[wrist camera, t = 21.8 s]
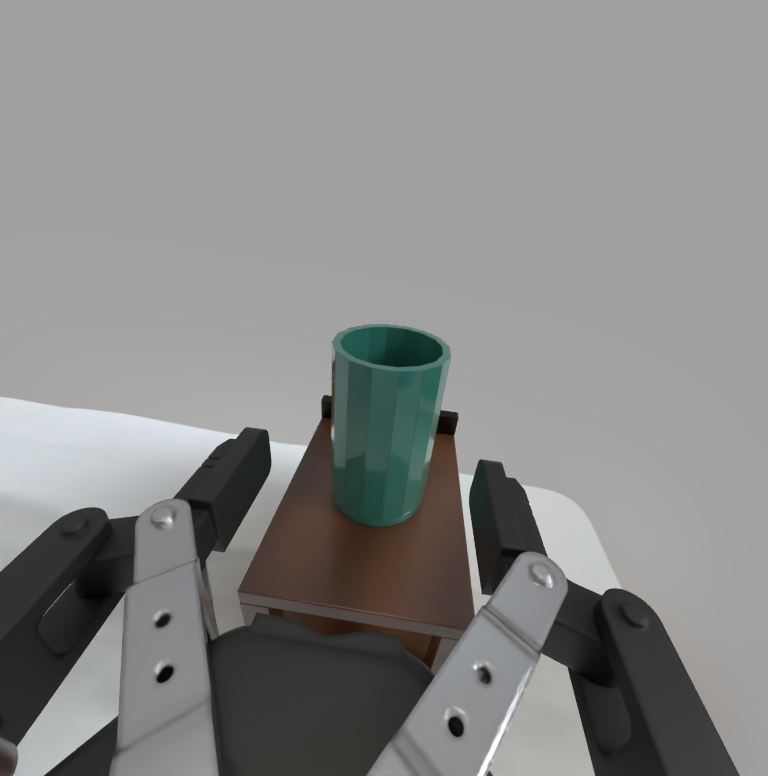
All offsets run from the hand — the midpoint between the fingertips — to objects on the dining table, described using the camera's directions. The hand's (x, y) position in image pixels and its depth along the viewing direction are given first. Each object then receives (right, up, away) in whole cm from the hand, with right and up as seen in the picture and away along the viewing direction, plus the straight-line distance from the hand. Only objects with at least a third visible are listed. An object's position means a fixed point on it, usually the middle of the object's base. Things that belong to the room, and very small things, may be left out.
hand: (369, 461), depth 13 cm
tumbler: (0, -4, +9) cm, 10 cm away
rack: (-1, -14, +15) cm, 20 cm away
